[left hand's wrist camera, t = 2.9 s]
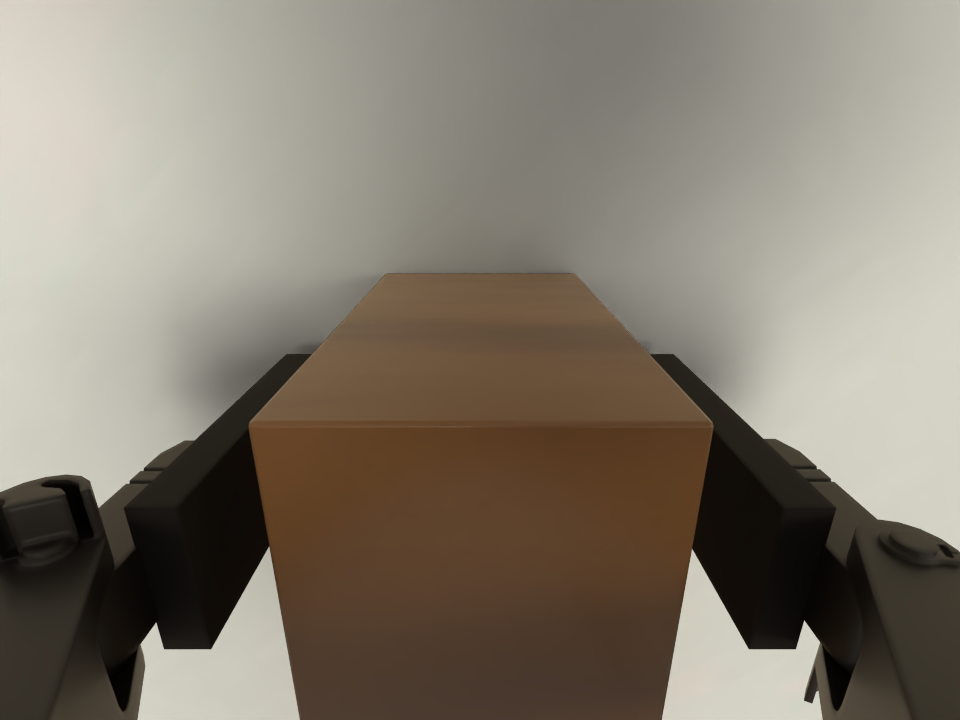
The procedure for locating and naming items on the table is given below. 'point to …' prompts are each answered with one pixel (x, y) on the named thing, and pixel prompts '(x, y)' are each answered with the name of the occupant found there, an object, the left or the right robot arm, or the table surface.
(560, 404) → the bar
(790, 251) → the table surface
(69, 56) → the table surface
